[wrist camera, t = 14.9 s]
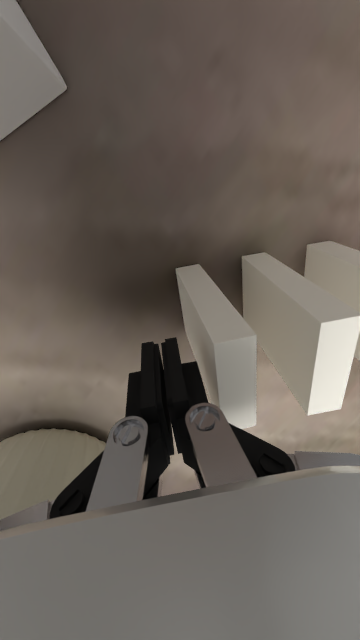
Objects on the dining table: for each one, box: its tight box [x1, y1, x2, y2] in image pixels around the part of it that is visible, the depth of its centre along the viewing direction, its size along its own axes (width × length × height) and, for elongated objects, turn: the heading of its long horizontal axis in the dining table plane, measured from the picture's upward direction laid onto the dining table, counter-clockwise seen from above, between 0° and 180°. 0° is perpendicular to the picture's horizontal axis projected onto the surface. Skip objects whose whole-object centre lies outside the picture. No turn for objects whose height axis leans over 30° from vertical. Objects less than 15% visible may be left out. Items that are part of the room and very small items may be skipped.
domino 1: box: [175, 264, 257, 429], centre depth 14 cm, size 5×2×9 cm, turn 8°
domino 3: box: [304, 241, 360, 361], centre depth 15 cm, size 5×2×9 cm, turn 8°
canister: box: [0, 428, 106, 520], centre depth 16 cm, size 18×18×21 cm
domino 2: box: [242, 252, 360, 415], centre depth 15 cm, size 5×2×9 cm, turn 8°
